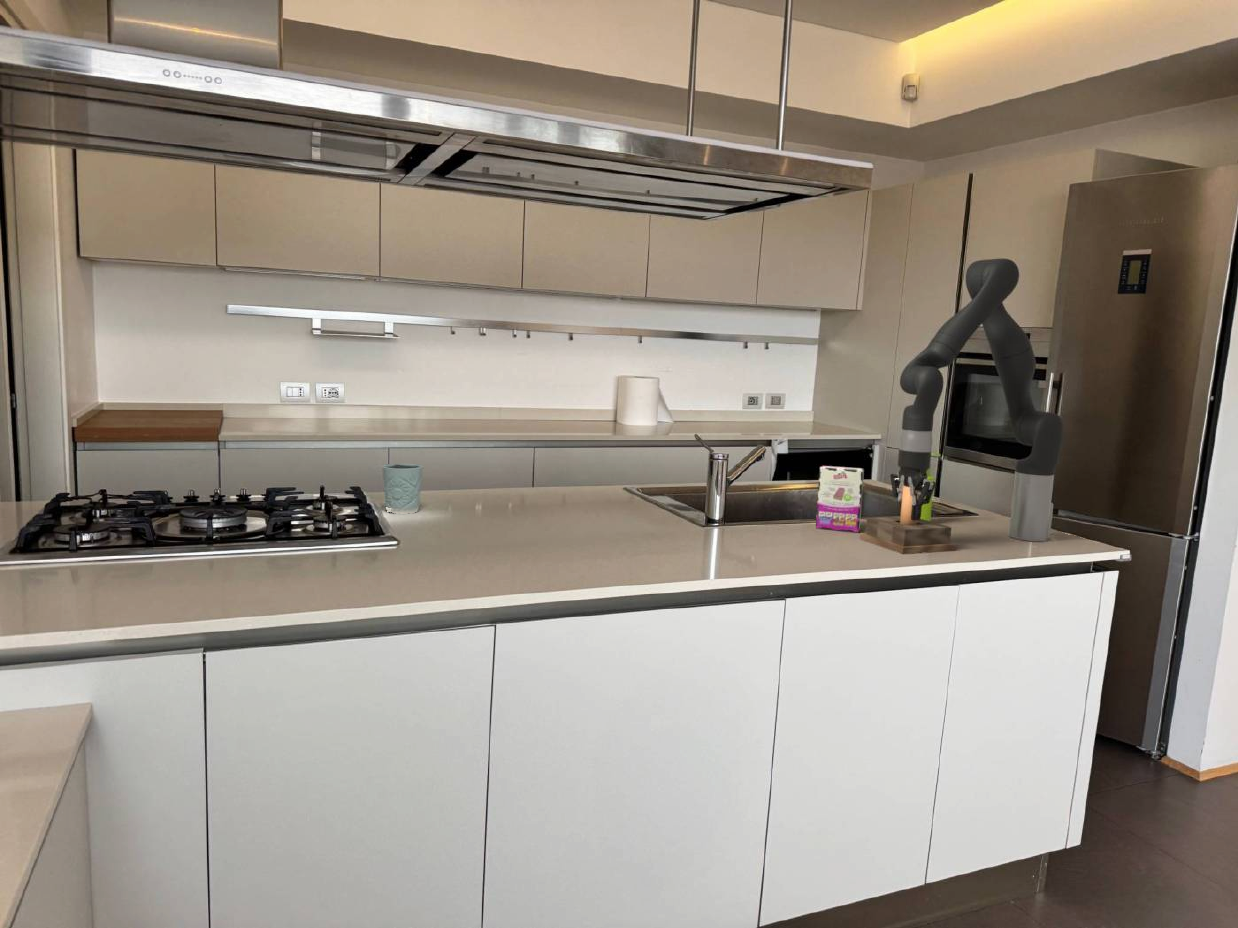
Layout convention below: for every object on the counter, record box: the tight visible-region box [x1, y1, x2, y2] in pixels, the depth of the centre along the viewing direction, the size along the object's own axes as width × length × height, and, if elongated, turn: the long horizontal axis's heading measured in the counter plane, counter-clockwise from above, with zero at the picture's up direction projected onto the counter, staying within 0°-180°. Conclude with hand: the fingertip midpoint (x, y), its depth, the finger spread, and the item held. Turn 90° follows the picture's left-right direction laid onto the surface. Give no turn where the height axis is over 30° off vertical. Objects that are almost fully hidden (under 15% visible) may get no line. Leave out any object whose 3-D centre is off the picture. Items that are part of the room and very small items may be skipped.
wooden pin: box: [900, 486, 920, 525], centre depth 216 cm, size 4×4×12 cm
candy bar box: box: [815, 465, 865, 533], centre depth 231 cm, size 11×5×16 cm, turn 71°
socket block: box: [859, 515, 957, 555], centre depth 217 cm, size 16×16×6 cm
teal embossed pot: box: [382, 463, 423, 510], centre depth 230 cm, size 10×10×12 cm
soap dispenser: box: [920, 451, 941, 521], centre depth 244 cm, size 6×7×20 cm
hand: (909, 517), depth 216 cm, fingers closed on wooden pin, 3 cm apart
